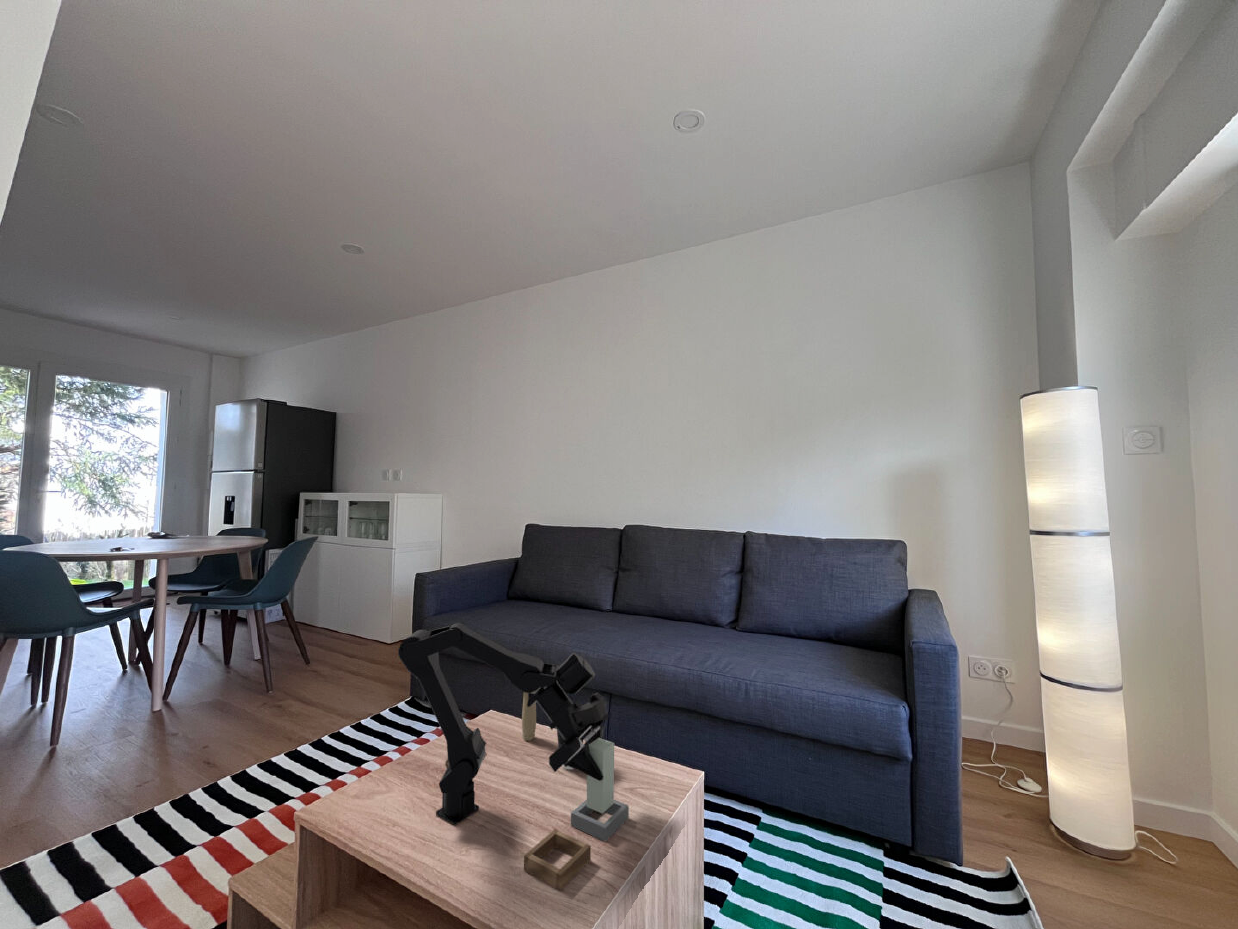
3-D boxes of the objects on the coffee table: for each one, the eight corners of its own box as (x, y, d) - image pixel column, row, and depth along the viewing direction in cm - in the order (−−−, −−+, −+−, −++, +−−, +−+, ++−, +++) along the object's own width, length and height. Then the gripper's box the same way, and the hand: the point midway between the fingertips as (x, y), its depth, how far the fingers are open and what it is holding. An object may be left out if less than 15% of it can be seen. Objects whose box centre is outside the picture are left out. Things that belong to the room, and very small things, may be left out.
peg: (586, 806, 100) (587, 745, 101) (597, 797, 103) (598, 738, 104) (602, 813, 97) (603, 751, 98) (613, 803, 101) (614, 743, 102)
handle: (531, 745, 131) (532, 688, 132) (514, 739, 135) (515, 683, 136) (543, 738, 135) (544, 682, 137) (526, 732, 139) (527, 678, 140)
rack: (523, 870, 87) (524, 855, 87) (555, 842, 94) (555, 829, 94) (560, 891, 82) (560, 875, 82) (590, 860, 89) (590, 846, 89)
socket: (570, 825, 99) (571, 813, 99) (595, 804, 106) (595, 792, 106) (605, 841, 94) (605, 828, 94) (628, 818, 101) (628, 805, 101)
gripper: (563, 702, 95) (616, 773, 90) (601, 671, 112) (646, 729, 107) (527, 737, 97) (577, 808, 92) (570, 701, 114) (613, 760, 109)
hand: (606, 773), depth 100 cm, fingers closed on peg, 5 cm apart
